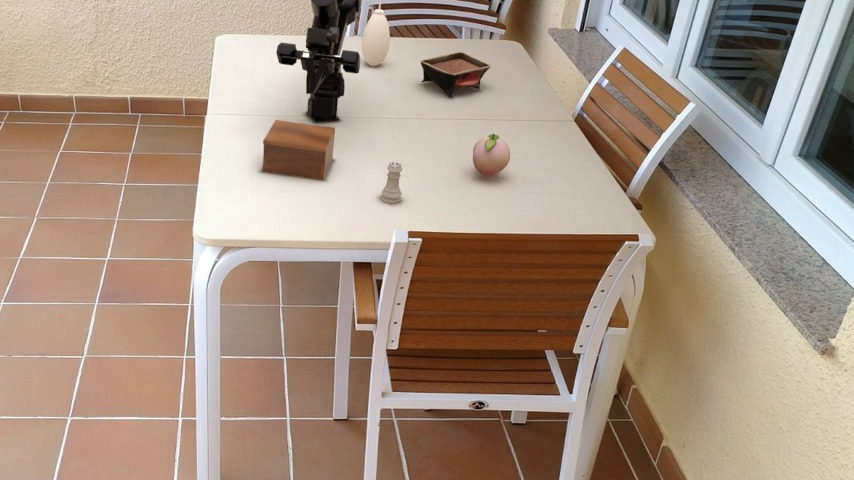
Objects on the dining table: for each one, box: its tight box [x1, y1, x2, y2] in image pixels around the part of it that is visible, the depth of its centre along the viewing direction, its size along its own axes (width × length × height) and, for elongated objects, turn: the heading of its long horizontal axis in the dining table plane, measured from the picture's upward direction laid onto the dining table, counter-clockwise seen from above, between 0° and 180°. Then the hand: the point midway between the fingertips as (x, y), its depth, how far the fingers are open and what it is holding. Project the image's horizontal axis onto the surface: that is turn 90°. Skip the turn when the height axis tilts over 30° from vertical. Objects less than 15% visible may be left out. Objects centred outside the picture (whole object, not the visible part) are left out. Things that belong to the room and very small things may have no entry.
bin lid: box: [262, 119, 336, 152], centre depth 211 cm, size 12×14×1 cm
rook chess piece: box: [380, 161, 403, 205], centre depth 202 cm, size 4×4×8 cm
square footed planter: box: [420, 51, 492, 98], centre depth 263 cm, size 14×18×10 cm
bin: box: [262, 131, 336, 181], centre depth 214 cm, size 12×14×7 cm
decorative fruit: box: [472, 133, 511, 177], centre depth 214 cm, size 9×8×10 cm
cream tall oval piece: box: [361, 0, 391, 67], centre depth 272 cm, size 8×8×18 cm
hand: (312, 93), depth 218 cm, fingers closed
